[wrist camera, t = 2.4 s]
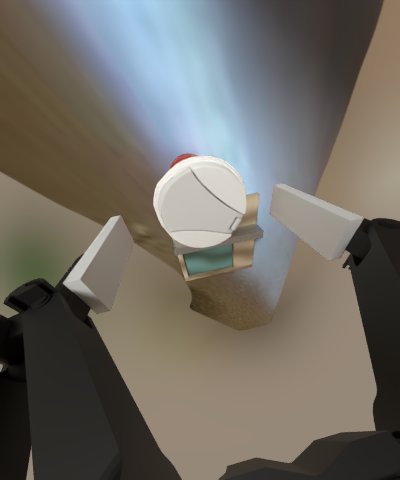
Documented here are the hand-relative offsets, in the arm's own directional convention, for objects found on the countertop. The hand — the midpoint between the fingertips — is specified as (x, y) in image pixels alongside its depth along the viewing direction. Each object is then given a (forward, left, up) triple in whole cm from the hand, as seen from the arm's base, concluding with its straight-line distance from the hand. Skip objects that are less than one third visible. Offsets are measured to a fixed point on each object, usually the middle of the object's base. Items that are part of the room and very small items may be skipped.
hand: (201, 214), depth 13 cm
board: (+15, +4, -14) cm, 21 cm away
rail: (+12, +4, -13) cm, 19 cm away
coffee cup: (0, 0, -15) cm, 15 cm away
